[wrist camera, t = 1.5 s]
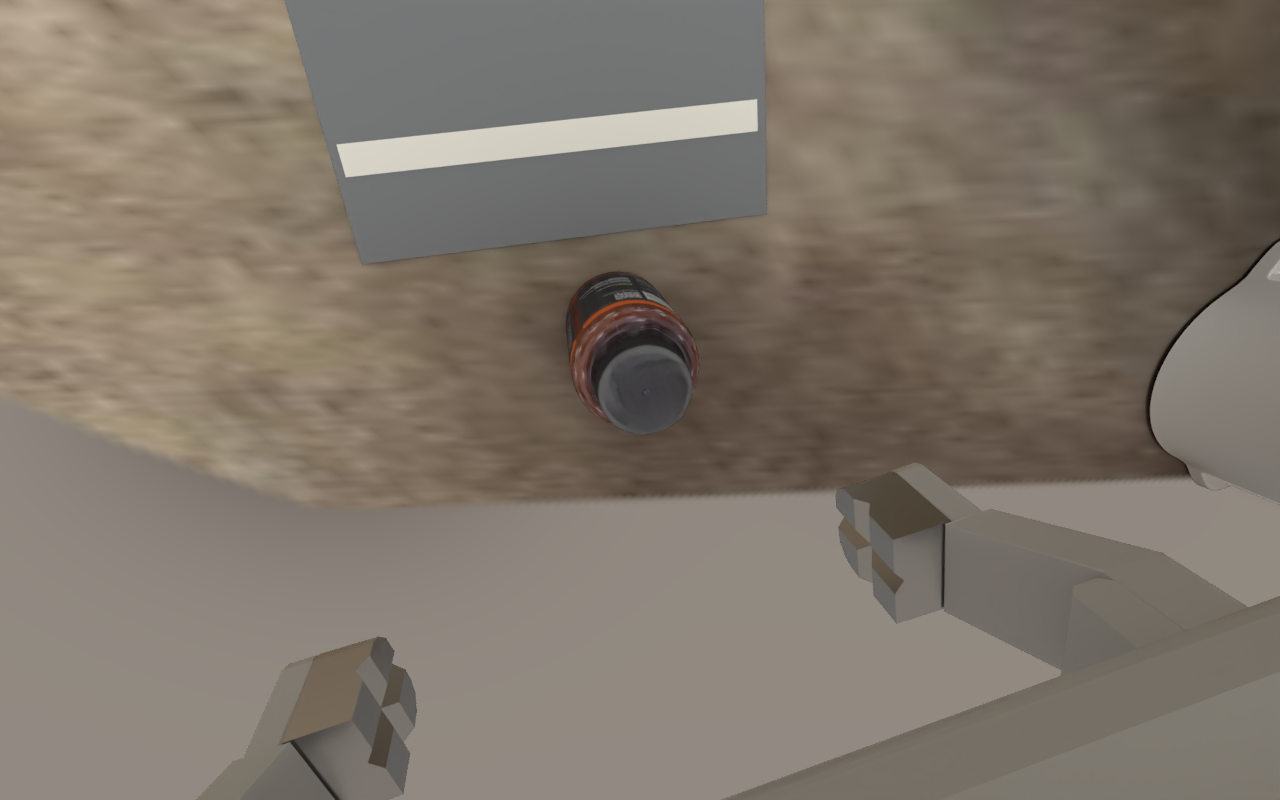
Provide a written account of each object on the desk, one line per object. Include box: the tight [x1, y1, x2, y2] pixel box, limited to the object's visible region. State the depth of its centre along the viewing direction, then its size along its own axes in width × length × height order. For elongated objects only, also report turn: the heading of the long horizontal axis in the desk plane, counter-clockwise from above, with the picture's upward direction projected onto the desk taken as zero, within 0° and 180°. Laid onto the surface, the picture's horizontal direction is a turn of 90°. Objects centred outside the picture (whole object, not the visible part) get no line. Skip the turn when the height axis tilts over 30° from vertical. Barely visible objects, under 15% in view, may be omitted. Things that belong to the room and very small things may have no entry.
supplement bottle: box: [566, 272, 699, 434], centre depth 29 cm, size 6×6×11 cm
